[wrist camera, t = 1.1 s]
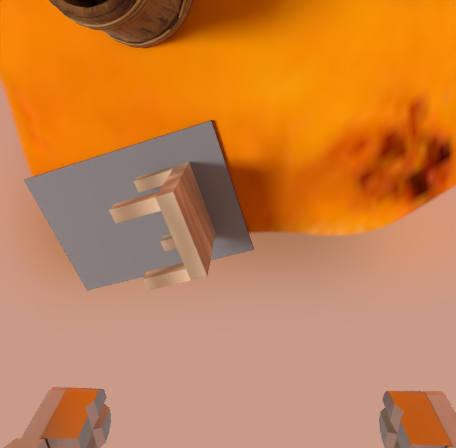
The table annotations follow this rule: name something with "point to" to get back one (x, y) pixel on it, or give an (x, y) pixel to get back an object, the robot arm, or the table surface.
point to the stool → (174, 222)
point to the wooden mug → (128, 18)
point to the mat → (126, 190)
